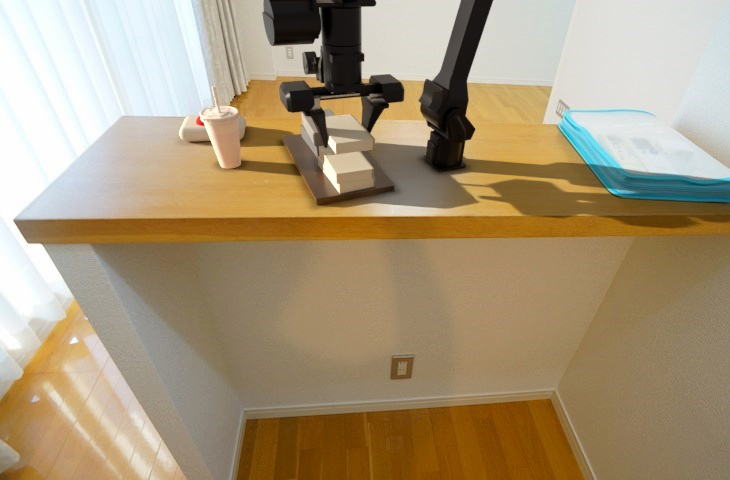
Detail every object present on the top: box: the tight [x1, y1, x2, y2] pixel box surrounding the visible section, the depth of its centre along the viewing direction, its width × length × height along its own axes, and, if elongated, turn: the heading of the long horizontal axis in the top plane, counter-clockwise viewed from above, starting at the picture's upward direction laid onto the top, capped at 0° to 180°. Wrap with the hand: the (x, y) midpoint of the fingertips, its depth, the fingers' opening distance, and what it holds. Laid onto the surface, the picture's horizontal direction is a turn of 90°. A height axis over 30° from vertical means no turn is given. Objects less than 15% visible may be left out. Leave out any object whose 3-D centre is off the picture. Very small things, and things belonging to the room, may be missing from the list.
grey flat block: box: [300, 108, 336, 146], centre depth 80 cm, size 6×11×3 cm, turn 23°
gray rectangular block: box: [300, 123, 319, 158], centre depth 82 cm, size 6×11×3 cm, turn 27°
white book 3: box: [317, 156, 375, 194], centre depth 73 cm, size 6×11×2 cm, turn 28°
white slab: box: [178, 115, 247, 142], centre depth 85 cm, size 12×4×10 cm
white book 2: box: [319, 145, 374, 184], centre depth 72 cm, size 6×11×2 cm, turn 24°
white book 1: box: [325, 113, 376, 155], centre depth 69 cm, size 6×11×2 cm, turn 25°
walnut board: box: [281, 133, 396, 206], centre depth 79 cm, size 14×26×1 cm, turn 25°
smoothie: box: [199, 85, 242, 169], centre depth 72 cm, size 6×6×14 cm
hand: (345, 144), depth 70 cm, fingers closed on white book 1, 6 cm apart
